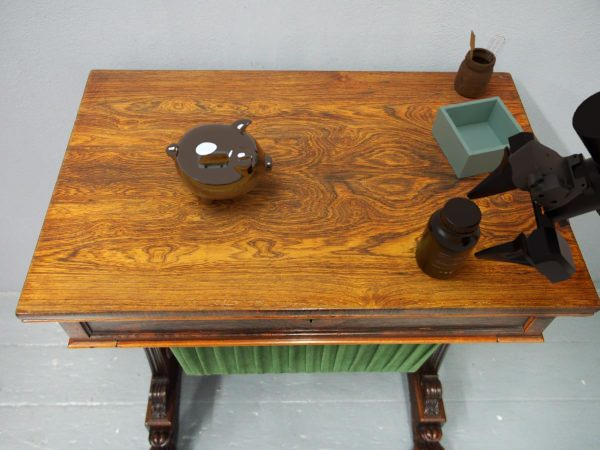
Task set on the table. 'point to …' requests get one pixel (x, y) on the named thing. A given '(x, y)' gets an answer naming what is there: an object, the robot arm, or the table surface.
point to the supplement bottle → (449, 238)
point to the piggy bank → (220, 160)
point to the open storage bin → (474, 134)
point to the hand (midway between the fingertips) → (471, 225)
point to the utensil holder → (475, 70)
